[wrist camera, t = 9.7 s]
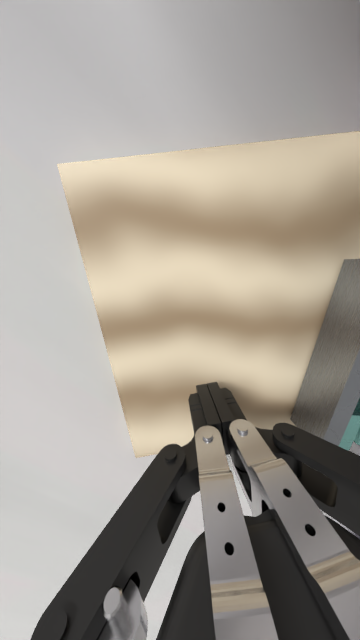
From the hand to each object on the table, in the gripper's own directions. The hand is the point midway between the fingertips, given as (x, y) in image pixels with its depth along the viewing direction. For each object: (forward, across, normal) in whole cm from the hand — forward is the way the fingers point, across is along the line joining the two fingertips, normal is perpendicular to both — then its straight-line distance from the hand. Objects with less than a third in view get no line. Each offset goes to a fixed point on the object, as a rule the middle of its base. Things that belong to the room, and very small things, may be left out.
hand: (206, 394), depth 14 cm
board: (+2, -6, -4) cm, 8 cm away
